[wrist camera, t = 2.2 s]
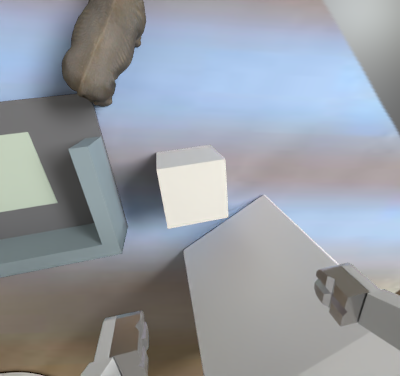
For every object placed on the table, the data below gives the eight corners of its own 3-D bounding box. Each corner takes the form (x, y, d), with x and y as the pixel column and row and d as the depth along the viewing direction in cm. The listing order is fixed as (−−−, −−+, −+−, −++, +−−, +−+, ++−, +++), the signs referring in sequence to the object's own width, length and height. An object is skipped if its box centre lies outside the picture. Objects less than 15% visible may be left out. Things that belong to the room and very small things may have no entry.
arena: (127, 226, 27) (121, 253, 22) (-38, 256, 24) (-82, 293, 20) (89, 92, 20) (70, 92, 16) (-136, 116, 18) (-234, 123, 14)
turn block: (213, 192, 27) (228, 217, 22) (165, 201, 26) (168, 229, 21) (209, 144, 24) (225, 159, 19) (156, 152, 24) (156, 169, 18)
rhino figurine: (181, -39, 18) (192, -96, 13) (114, 113, 22) (99, 119, 16) (134, -81, 17) (123, -165, 11) (70, 89, 20) (38, 87, 15)
